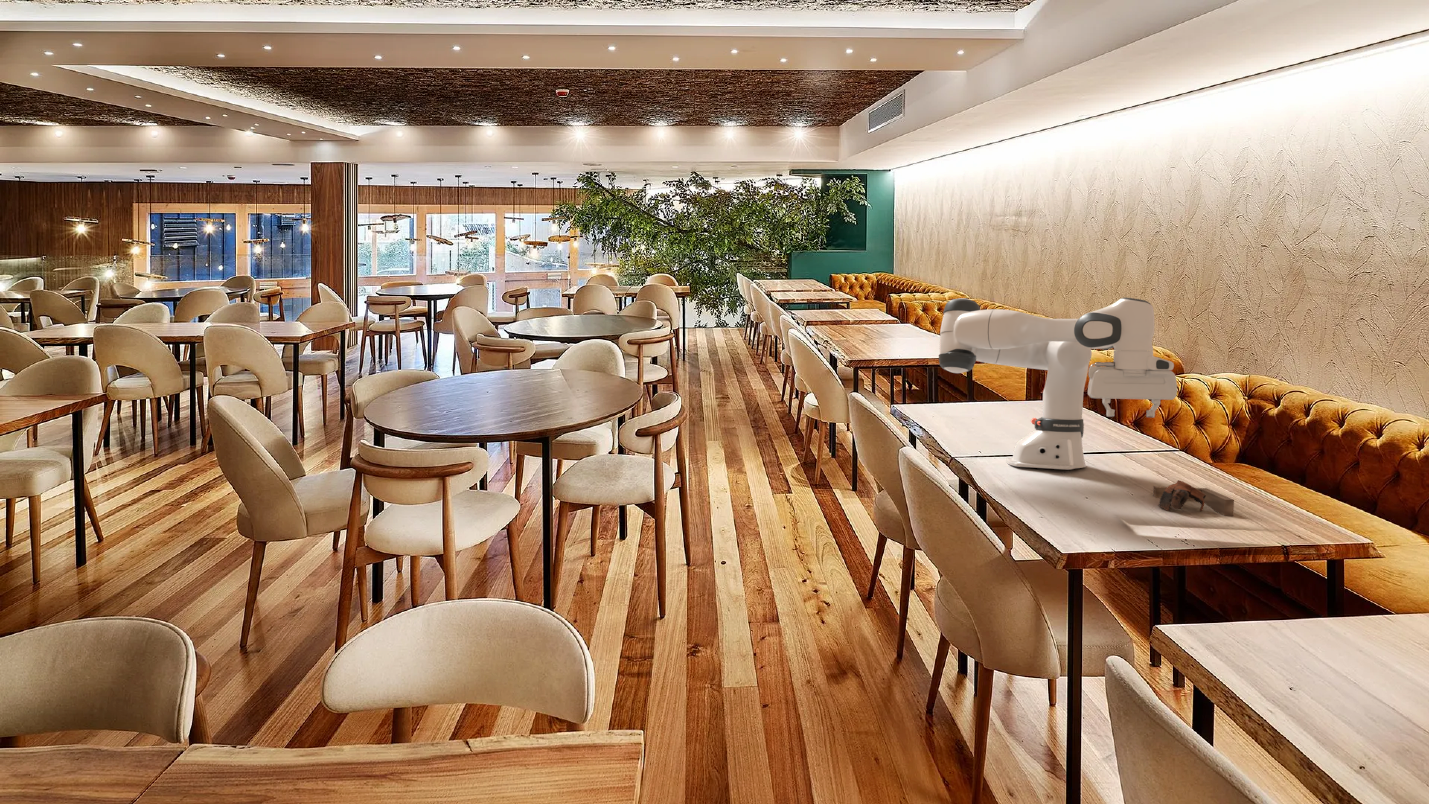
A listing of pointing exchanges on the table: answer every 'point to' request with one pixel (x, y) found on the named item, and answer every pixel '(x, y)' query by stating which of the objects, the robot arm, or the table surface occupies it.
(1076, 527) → the table surface
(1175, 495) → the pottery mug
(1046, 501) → the table surface
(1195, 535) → the table surface
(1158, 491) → the dock
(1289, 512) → the table surface
